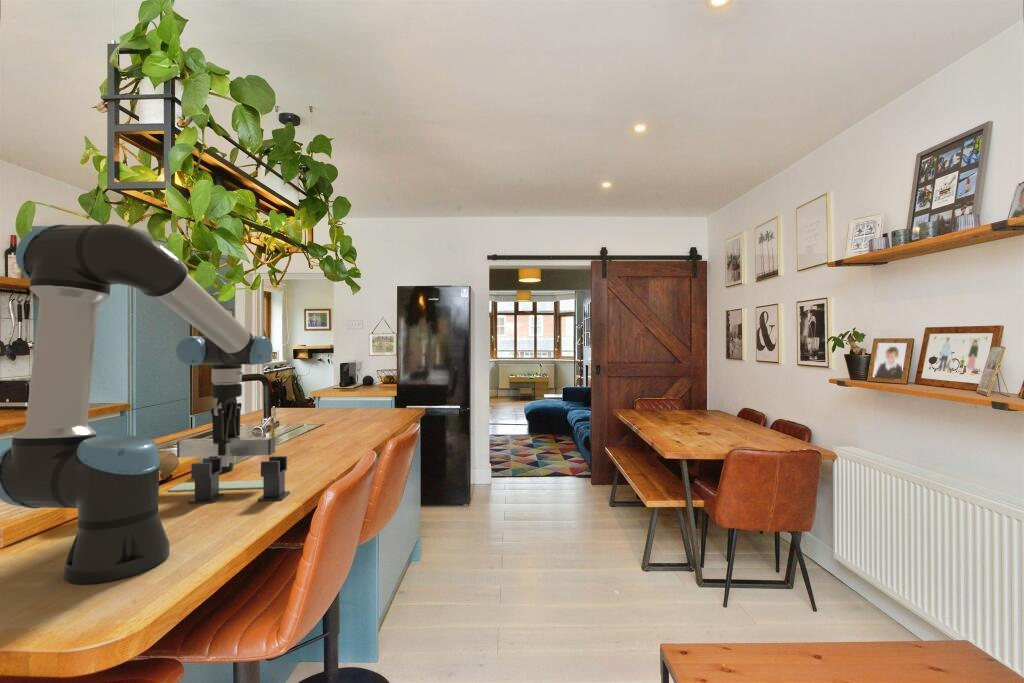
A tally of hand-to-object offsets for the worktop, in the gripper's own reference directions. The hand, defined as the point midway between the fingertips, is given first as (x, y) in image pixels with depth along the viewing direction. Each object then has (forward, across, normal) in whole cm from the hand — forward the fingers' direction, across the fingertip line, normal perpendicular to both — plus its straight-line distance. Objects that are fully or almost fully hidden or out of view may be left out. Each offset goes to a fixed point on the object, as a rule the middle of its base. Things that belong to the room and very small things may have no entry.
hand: (226, 464), depth 139 cm
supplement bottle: (+7, +18, +10) cm, 22 cm away
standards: (+6, -12, -9) cm, 16 cm away
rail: (-3, 0, 0) cm, 3 cm away
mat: (+6, 0, 0) cm, 6 cm away
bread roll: (+7, +10, +24) cm, 27 cm away
